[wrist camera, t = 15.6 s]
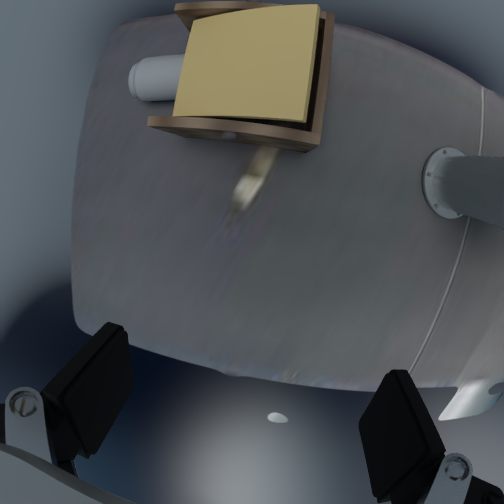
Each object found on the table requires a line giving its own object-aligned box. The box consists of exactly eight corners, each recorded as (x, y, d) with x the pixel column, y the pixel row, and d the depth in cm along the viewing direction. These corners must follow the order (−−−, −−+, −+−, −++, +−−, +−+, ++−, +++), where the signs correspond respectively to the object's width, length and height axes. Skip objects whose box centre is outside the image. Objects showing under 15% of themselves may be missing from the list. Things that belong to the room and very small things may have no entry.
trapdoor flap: (320, 9, 20) (317, 4, 19) (305, 122, 24) (302, 120, 23) (198, 23, 26) (193, 20, 25) (177, 117, 30) (172, 116, 30)
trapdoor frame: (319, 50, 35) (335, 9, 22) (304, 158, 40) (318, 152, 27) (203, 39, 36) (177, -1, 22) (184, 142, 41) (145, 132, 28)
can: (212, 101, 40) (145, 103, 40) (216, 58, 36) (149, 63, 37) (199, 97, 33) (123, 101, 33) (204, 47, 29) (127, 55, 30)
